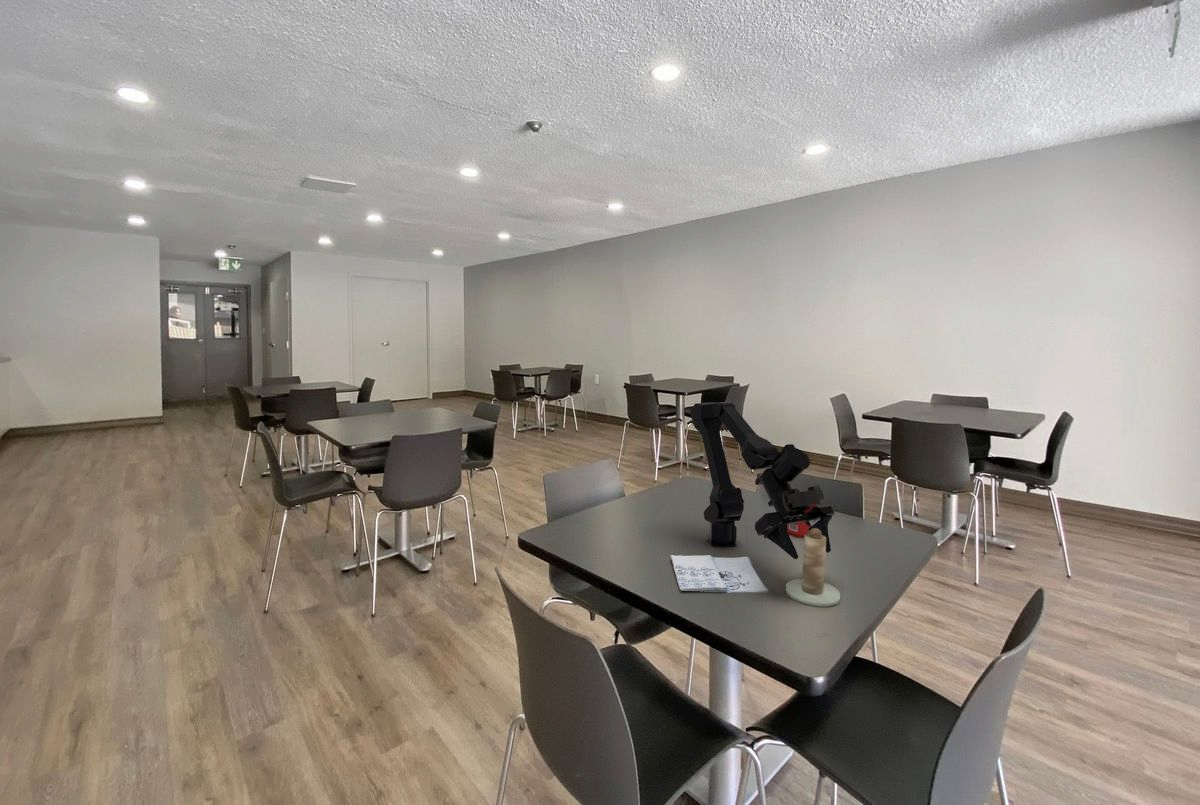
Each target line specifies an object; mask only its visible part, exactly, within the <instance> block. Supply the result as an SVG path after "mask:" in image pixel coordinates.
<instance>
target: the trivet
mask: <svg viewBox="0 0 1200 805" xmlns="http://www.w3.org/2000/svg"><path fill="white" fill-rule="evenodd" d="M785 593H786V595H787V596H788V597H789V598H790V599H792V600H794V602H797V603H800V604H802V605H807V606H811V607H819V608H826V607H827V608H828V607H829V608H830V607H833V605H834V606H835V605H836V606H837V604H839V603H840V602H841V593H840V591H839V590H838V588H836V587H834V586H833V585H831V584H829V583H827V582H824V590H823V593H822V594H820V595H813V594H808V593H806V592H804V591H803V590H802V578H798V579H793V580H790V581H787V583H786V584H785Z"/></svg>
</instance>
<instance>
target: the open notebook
mask: <svg viewBox="0 0 1200 805" xmlns="http://www.w3.org/2000/svg"><path fill="white" fill-rule="evenodd" d="M670 559H671V562H672V566H673V570H674V573H675V578H676V580H677V585H678V587H679V590H681V591H700V592H699V593H727V594H732V593H753V594H754V593H759V594H760V593H768V591H769V589H768V588H767V587H766V586H765V585H764V584H763V581H762V580H761V578H760V576H759V574H757V571H755V569H754V567H753V563H752V561H751V560H750V558H749V557H748V556H742V557H741V556H740V557H713V556H712V555H710V554H708V555H707V554H706V555H673V554H671V555H670ZM720 574H722V575H723V577H721V575H720ZM681 591H680V592H681ZM703 591H704V592H703Z"/></svg>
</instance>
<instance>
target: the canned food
mask: <svg viewBox="0 0 1200 805" xmlns="http://www.w3.org/2000/svg"><path fill="white" fill-rule="evenodd" d="M809 506H810V508H809V509H808V510H805V513H807V512H809V511H810V510H811V509H812V508H813V507H815V506H818V504H812V505H809ZM798 519H799V518H798ZM809 528H810V526H808V525H807V524H806V523H805V522H800V523H794V524H788V525H787V531H788V535H789V536H792V537H795V538H802V539H804V535H805V534H808V533H809Z"/></svg>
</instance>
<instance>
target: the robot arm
mask: <svg viewBox="0 0 1200 805" xmlns="http://www.w3.org/2000/svg"><path fill="white" fill-rule="evenodd" d="M689 412H690V418H691V421H692V423H693V427H694V429H695V430H696V431H697V432H698V433H699V435H701V437H702V441H703V442H702V443H703V446H704V451H705V455H706V460H707V464H708V468H709V474H710V479H711V483H712V488H711V492H710V494H709V505H708V506H707V507H706V508H705V510H703V516H704V521H707V522H709V535H708V536H707V540H708V541H709V543H710V545H711V546H712V547H736V545H737V544H736V542H737V533H738V532H737V531H738V527H737V526H736V523H735V522H739V521H741V519H742V515H743V511H744V509H745V505H744V503H745V500H744V498H743V494H742V490H741V487H736V486H735V485H734V484H733V483H732V480H731V476H730V471H729V467H728V463H727V458H726V455H725V449H724V444H723V441H722V436H721V429H722V426H723V425H724V427H725V428H726V430H727V431H728V432H729V433H730V434H731V435H732V438H733V439H734V440H735V441H736V443H737V444H738V445H739V447H740V449H741V450H740V452H741V453H740V454H741V455H740V456H741V457H742V458H743V461H744V463H745V465H747V467H748V468H749V470H752V471H754V470H756V471H757V470H763V471H762V472H759V473H757V474H756V478H755V482H754V484H755V485H756V486H759V485H762V488H764V490H765V492H766V494H767V496H768V498H769V501H768V502H767V505H768V506H769V508H770V507H773V509H774V512H773V511H772V512H766V513H764V514H763V515H762V516H761V517H760V518H759V519H758V520H757V521H755V523H754V530H755V532H756V535H757V536H758V537H759V536H763V538H764V539H768V540H770V541H771V542H772V543H774V544H775V545H777V546H778V547H779V548H781V550H783V551H784V552H785V554H788V555H789V556H790V557H791V558H792V559H793V560H797V559H799V554H798V552H797V549H796V548H795V545H794V543H793V541H792V539H791V537H790V534H788V531H787V525H788V524H794V523H800V522H805V523H806V524H807V525H808V526H810V528H809V531H810V530H811V529H812V528H817V529H819V530H820V531H821V533H822V535H823V536H825V537H826V554H828V553H830V552H831V551H832V548H831V543H830V542H831V541H830V537H829V536H830V535H829V529H828V528H829V527H828V525H829V522H830V521H831V520H832V519H833V517H834V516H835V514H836V513H835V511H834V509H833V508H832V506H831V505H829V504H826V503H825V504H821V500H824V497H825V496H824V493H823V490H822V488H821V487H820V485H813V486H812V485H811V486H808V487H807V490H803V491H800V490H799V489H798V488H793V487H792V485H791V483H790V482H794V481H795V480H796V479H797V478H798V477H800V475H801V474H803V473H804V472H805V471H806V470H807V469H808V468H809V467H810V465H811V461H810V457H809V456H808V454H806V453H805V452H804V451H803V450H801V449H799V448H797V447H795V445H794V443H788V444H785V445H784V446H783V447H782V449H781V450H778V448H777V447H776V446H775V445H774V444H773V443H771V441H770V440H768V439H766V438H763V437H762V436H759V434H757V432H755V431H754V430H753V428H752V427H751V426H750V425H749V423H748V422H747V421H746V419H745V418H744V417H743V416H742V415H741V413H740V412H739V411H738V410H737V409H736V406H735V403H733V402H731V401H721V402H719V401H718V402H699V403H698V402H696V403H694V404H693V406H692V407H691V409H690V411H689ZM812 504H817V506H815V507H813V508H812V509H811V510H810V511H809V512H807V513H805V510H808V509H809V508H810V506H809V505H812ZM798 518H799V519H798Z"/></svg>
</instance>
